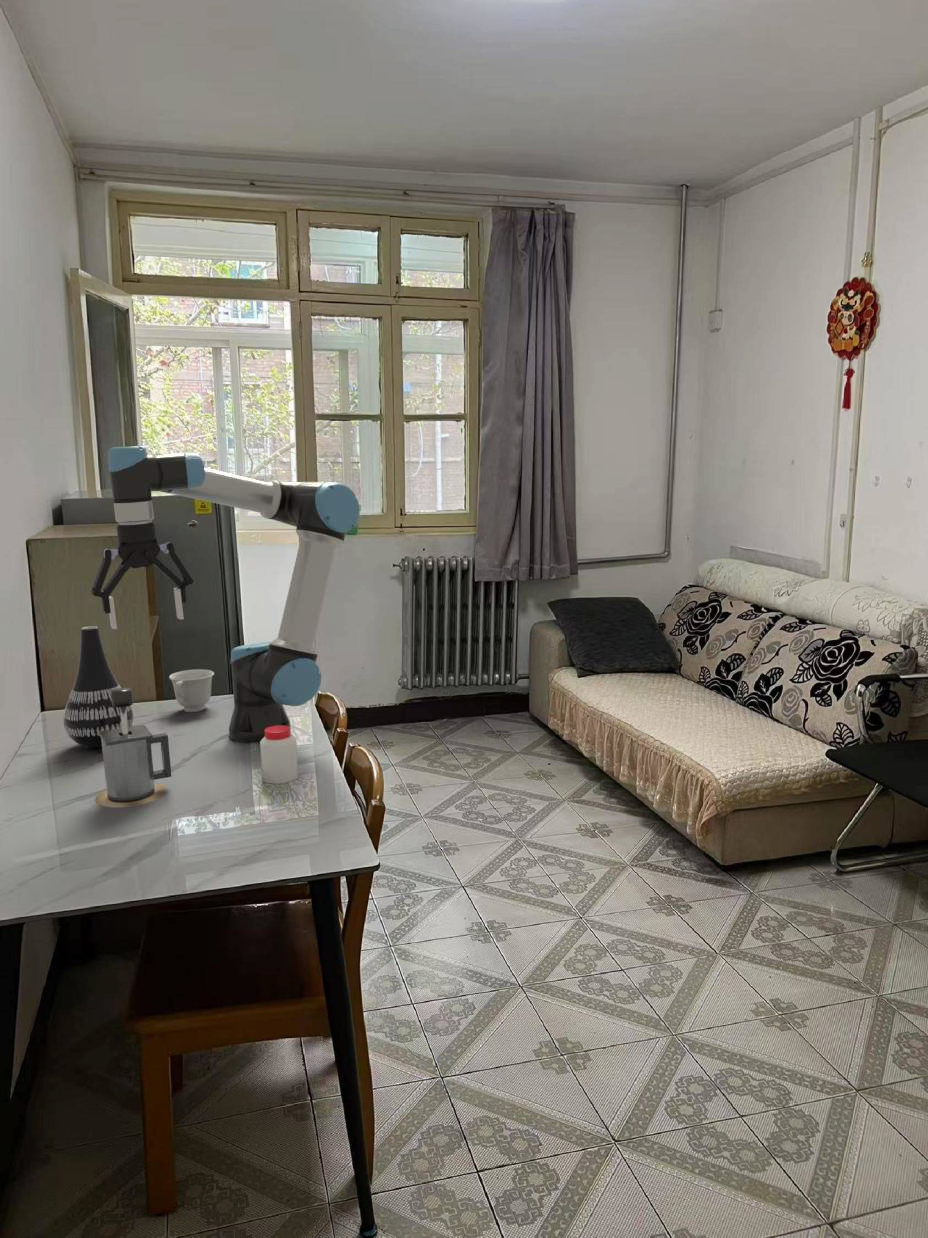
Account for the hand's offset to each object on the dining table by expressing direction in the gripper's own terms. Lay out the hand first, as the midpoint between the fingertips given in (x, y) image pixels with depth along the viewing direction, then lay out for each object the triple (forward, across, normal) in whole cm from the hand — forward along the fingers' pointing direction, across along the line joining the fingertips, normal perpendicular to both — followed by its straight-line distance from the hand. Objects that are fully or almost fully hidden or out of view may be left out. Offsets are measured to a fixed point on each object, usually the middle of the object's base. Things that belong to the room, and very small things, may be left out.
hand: (147, 623), depth 194 cm
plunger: (+31, +9, +7) cm, 33 cm away
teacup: (+36, -19, -52) cm, 66 cm away
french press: (+34, +7, +7) cm, 35 cm away
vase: (+35, +8, -34) cm, 50 cm away
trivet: (+34, +9, +7) cm, 36 cm away
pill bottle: (+36, -21, +13) cm, 44 cm away
